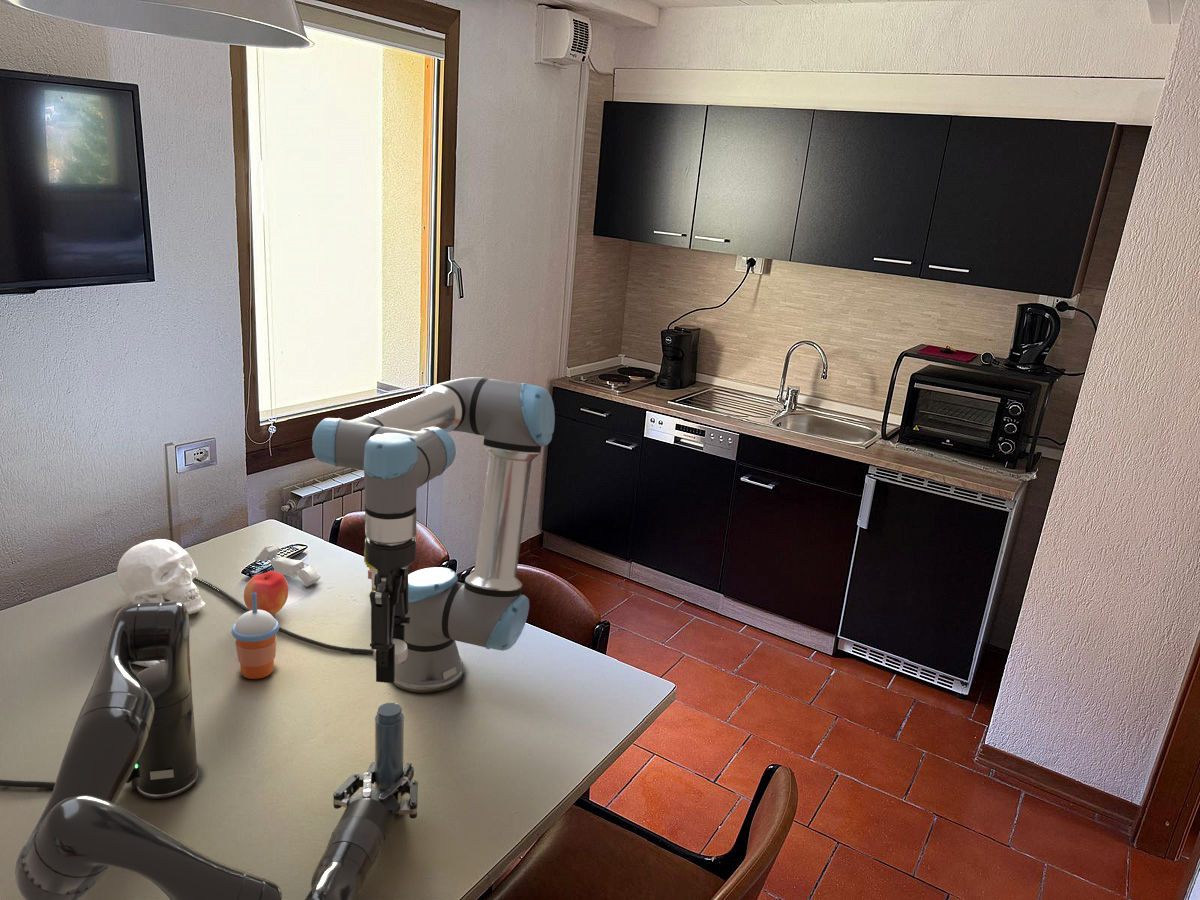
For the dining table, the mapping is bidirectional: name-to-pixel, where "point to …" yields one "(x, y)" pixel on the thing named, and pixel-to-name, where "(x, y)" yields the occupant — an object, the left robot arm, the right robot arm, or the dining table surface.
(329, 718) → the dining table surface
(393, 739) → the jar
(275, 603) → the apple
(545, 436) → the right robot arm
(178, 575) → the skull
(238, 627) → the cup with straw
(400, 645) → the lid
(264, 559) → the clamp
